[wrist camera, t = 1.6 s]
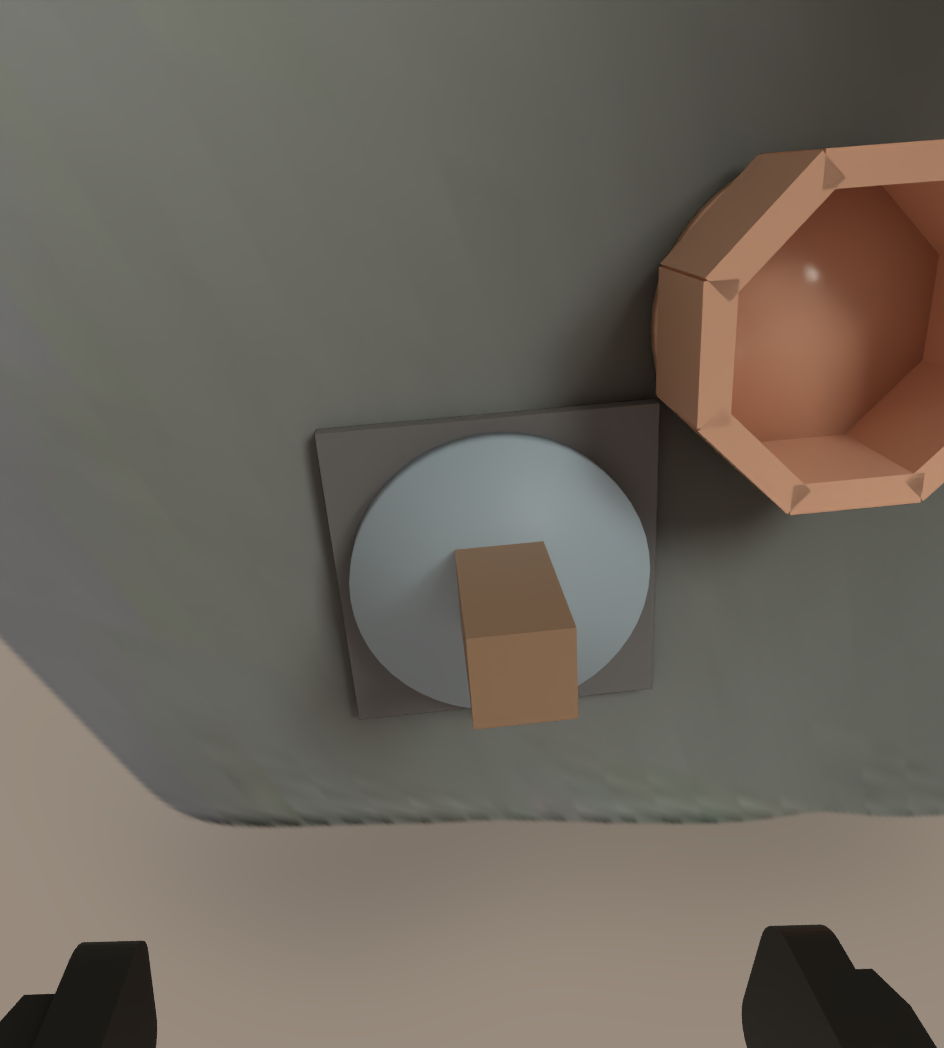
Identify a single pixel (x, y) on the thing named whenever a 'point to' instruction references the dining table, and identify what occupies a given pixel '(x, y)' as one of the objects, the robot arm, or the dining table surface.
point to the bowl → (814, 325)
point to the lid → (499, 575)
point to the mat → (383, 449)
